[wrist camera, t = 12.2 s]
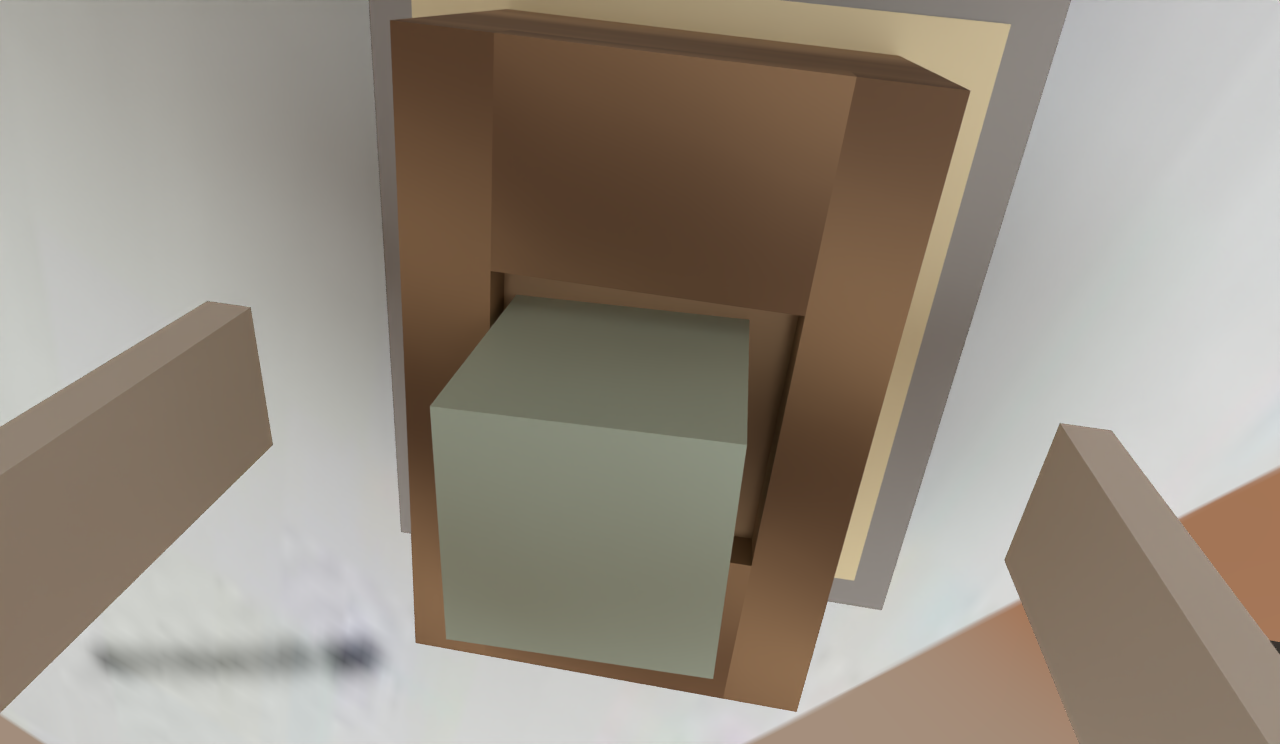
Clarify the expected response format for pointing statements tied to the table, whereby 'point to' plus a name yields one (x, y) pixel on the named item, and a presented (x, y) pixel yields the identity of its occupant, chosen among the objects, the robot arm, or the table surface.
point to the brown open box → (675, 261)
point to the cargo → (593, 482)
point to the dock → (960, 237)
